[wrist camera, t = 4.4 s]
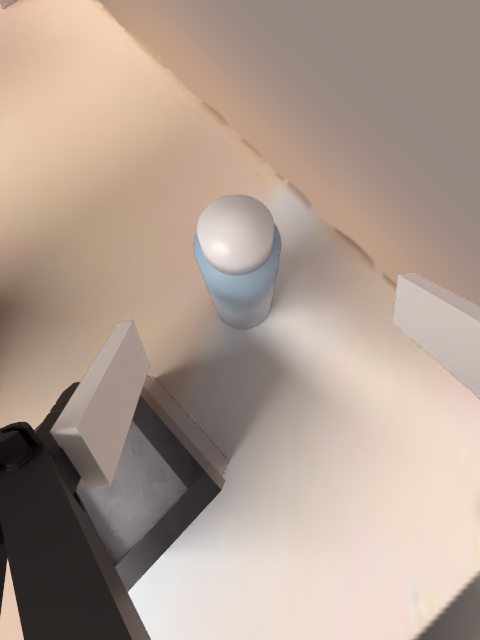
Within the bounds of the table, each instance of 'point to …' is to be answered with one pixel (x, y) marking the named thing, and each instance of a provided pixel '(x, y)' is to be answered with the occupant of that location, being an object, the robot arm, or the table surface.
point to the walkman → (5, 3)
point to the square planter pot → (154, 484)
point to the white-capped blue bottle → (238, 258)
